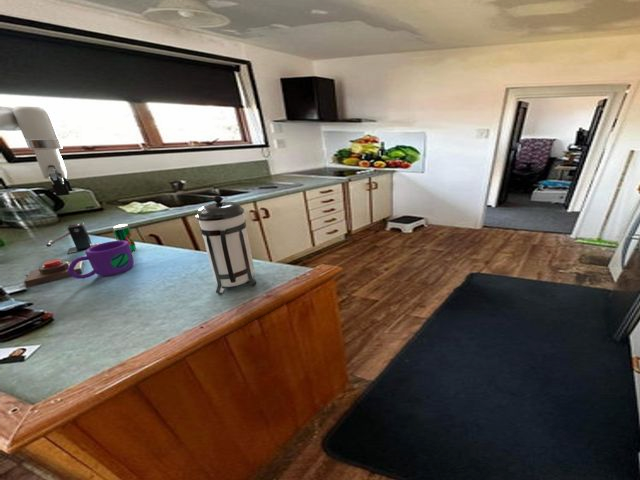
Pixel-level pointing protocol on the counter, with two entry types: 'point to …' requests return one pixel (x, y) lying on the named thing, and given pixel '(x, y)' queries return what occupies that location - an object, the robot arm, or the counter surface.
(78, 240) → the switch bracket
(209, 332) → the counter surface
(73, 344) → the counter surface
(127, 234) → the soda can
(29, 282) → the lamp base
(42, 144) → the robot arm
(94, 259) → the mug
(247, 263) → the coffee press
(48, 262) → the lamp button
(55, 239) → the lever
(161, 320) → the counter surface
